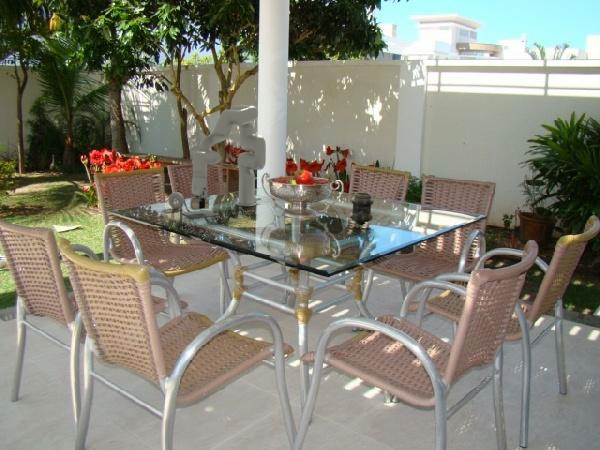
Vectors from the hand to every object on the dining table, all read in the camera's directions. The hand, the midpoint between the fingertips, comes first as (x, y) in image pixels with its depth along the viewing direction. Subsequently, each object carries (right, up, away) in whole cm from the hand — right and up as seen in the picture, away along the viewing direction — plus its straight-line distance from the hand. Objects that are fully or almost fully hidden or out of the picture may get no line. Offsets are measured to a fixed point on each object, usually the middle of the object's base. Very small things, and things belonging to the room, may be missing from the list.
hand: (199, 207), depth 306 cm
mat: (0, -4, +1) cm, 4 cm away
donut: (-16, -1, +13) cm, 20 cm away
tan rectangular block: (0, -1, 0) cm, 1 cm away
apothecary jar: (+87, -11, -11) cm, 89 cm away
